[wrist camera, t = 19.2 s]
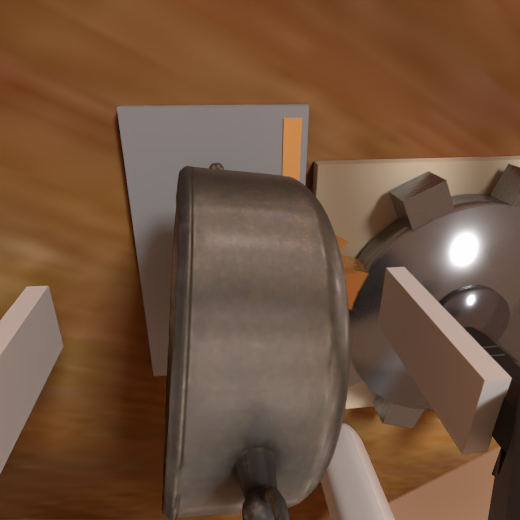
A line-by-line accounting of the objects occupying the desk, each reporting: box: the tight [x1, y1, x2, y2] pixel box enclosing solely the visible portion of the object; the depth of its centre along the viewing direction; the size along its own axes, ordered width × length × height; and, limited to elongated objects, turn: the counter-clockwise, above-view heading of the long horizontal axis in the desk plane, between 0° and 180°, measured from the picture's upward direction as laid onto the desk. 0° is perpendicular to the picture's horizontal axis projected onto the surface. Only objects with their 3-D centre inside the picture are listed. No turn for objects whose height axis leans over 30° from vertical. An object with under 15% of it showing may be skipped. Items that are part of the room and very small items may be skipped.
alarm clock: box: [161, 163, 350, 520], centre depth 13 cm, size 11×5×16 cm, turn 172°
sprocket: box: [341, 164, 520, 429], centre depth 19 cm, size 15×15×8 cm
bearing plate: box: [312, 156, 520, 409], centre depth 23 cm, size 15×15×1 cm
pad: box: [117, 104, 309, 376], centre depth 21 cm, size 8×14×1 cm, turn 0°
